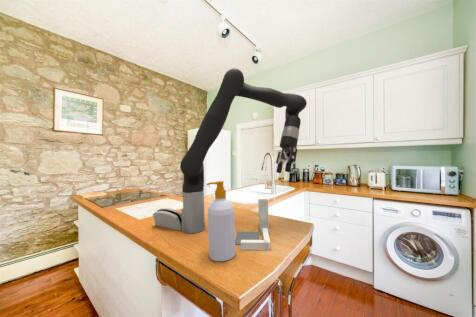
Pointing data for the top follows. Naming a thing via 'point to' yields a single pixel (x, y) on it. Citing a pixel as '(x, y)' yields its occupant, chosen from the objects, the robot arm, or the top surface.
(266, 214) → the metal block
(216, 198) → the soap bottle
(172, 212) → the grey rounded block
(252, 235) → the pad
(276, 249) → the top surface
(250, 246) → the corner piece
